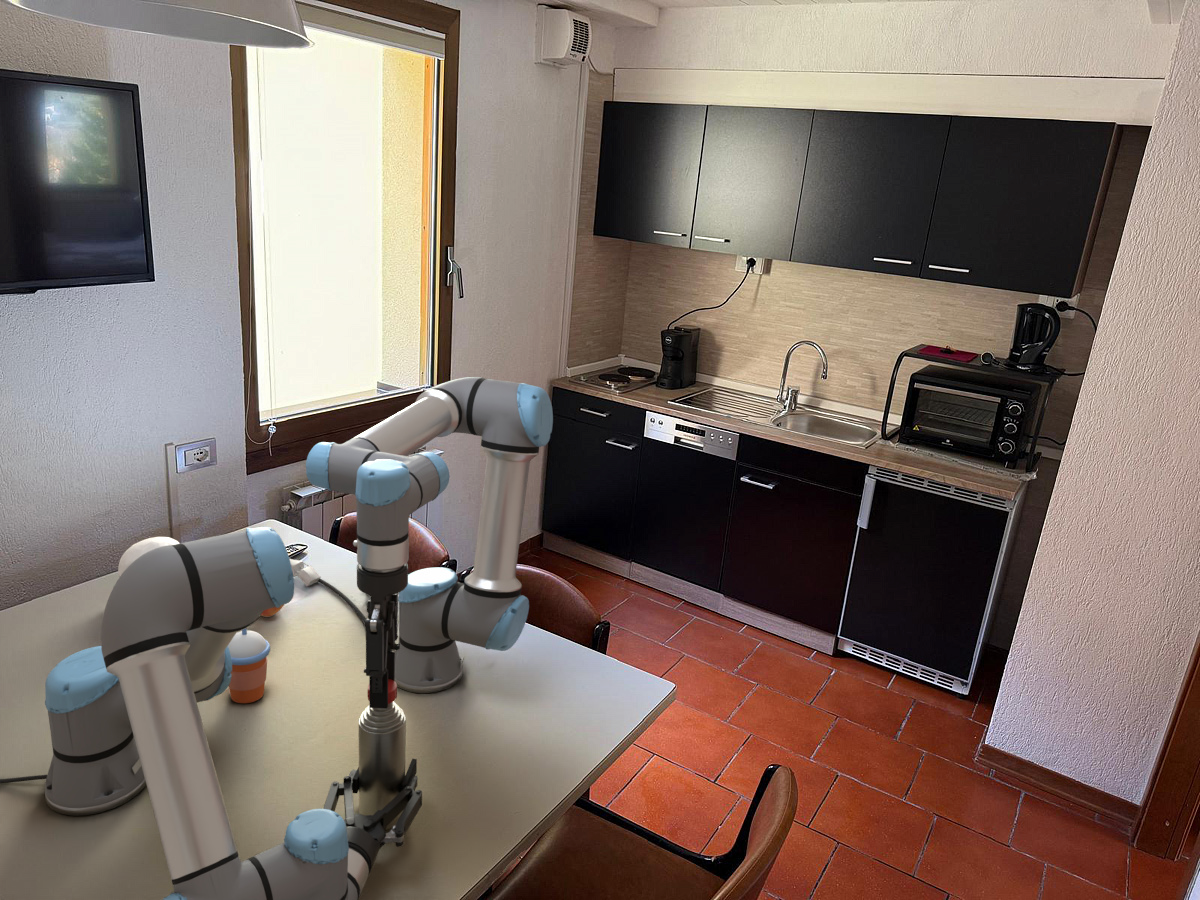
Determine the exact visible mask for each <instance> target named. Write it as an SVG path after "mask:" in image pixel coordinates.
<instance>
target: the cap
mask: <svg viewBox="0 0 1200 900" xmlns="http://www.w3.org/2000/svg"><path fill="white" fill-rule="evenodd" d="M397 697H398V686H397V684H396V682H395V681H393V680H391V679H388V704H389V703H392V702H393V701H394V702H395V701H396V700H397ZM367 700H368V701H369V684H368V685H367Z"/></svg>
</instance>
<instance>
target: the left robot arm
mask: <svg viewBox="0 0 1200 900" xmlns="http://www.w3.org/2000/svg"><path fill="white" fill-rule="evenodd" d="M179 543H180V542H179ZM290 559H291V558H290V556H289V553H288V551H287V548H286V545H285V543H284V542H283V539H282V537H281V536H280V534H279V533H278V532H277V531H276V530H275V529H274V528H273V527H270V526H260V527H246V528H245V529H244V530H239V531H235V532H230V533H225V534H219V535H215V536H214V535H213V536H209V537H204V538H200V539H195V540H191V541H185V542H181V543H180V544H176V545H168V546H162V547H159V548H156V549H153V550H151V551H149V552H147V553H145V554H143V555H142V556H140V557H139V558H137V559H136V560H135V561H134V562H133V563H132V564H130V565H129V566H128V567H127V569H126V570H125V571H124V572H123V573H122V575H121V576H120V577H119V576H118V579H117V580H116V582H115V584H114V585H113V587H112V588H111V589H112V590H111V591H110V594H109V596H108V598H107V601H106V604H105V608H104V610H103V614H102V620H101V626H100V645H97V646H92V647H88V648H85V649H82V650H79V651H77V652H75V653H73V654H70V655H69V656H66V657H65V658H63V659H61V661H59V662H58V663H57V664H56V665H55V667H53V668H52V669H51V670H50V671H49V673H48V675H47V677H46V679H45V684H44V685H45V686H44V687H45V689H44V690H45V691H44V692H45V693H44V694H45V698H44V699H45V700H44V705H45V708H46V710H47V715H48V723H49V724H48V725H49V731H50V739H51V746H52V757H51V761H50V764H49V768H48V771H47V774H39V775H28V776H21V777H19V776H18V777H10V778H0V784H9V783H11V784H12V783H20V782H26V781H27V782H29V781H38V780H39V781H41V780H45V781H44V799H45V802H46V805H47V806H48V807H49V808H50V809H51V810H53V811H54V812H56V813H58V814H61V815H65V816H66V815H67V816H89V815H95V814H99V813H104V812H107V811H110V810H113V809H115V808H117V807H119V806H121V805H123V804H125V803H127V802H130V800H132V799H133V798H135V797H136V796H137V795H139V794H140V792H142V791H143V790H144V788H147V792H148V796H149V799H150V800H149V801H150V803H151V808H152V811H153V815H154V818H155V822H156V826H157V830H158V835H159V837H160V841H161V845H162V849H163V853H164V857H165V860H166V861H165V862H166V864H167V868H168V872H169V876H170V879H171V884H172V886H173V892H171V893H170V894H169V895H167V896H165V897H164V898H162V900H359V899H360V896H361V894H362V892H363V890H364V887H365V885H366V883H367V880H368V878H369V874H370V873H371V871H372V868H373V866H374V863H375V861H376V859H377V857H378V854H379V851H380V850H381V848H383V847H384V846H385V844H387V843H394V845H395V846H396V847H397V848H399V847H403V846H404V841H405V835H406V833H407V832H408V830H409V829H410V826H411V825H412V823H413V822H414V820H415V818H416V816H417V815H418V813H419V811H420V810H421V808H422V806H423V790H421V789H417V787H418V775H417V771H418V769H417V765H418V764H417V763H418V759H417V758H411V761H410V763H409V764H408V768H407V770H406V772H405V777H404V780H403V782H402V791H401V792H400V793H399V794H398V795H397V796H396V797H395V798H394V799H392V800H391V801H390V802H389V803H388V804H387V805H386V806H385V807H384V808H383V809H382V810H378V811H377V812H376V813H375V814H374V815H362V814H359V813H355V807H354V796H353V794H359V766H358V767H357V769H352V770H351V771H349V774H348V775H346V776H344V777H343V782H341V783H340V782H339V781H332V782H331V784H330V787H329V790H328V793H327V795H326V799H325V802H324V805H323V808H313V809H308V810H305V811H303V812H301V813H299V814H298V815H296V817H295V818H294V819H293V820H292V821H290V822H289V824H288V826H286V830H285V834H284V838H283V842H281V843H279V844H277V845H275V846H273V847H271V848H269V849H266V850H265V851H262V852H260V853H257V854H255V855H253V856H251V857H249V858H247V859H245V860H243V861H241V858H240V854H239V852H238V851H239V849H238V846H237V843H236V838H235V836H234V832H233V829H232V825H231V821H230V817H229V814H228V811H227V807H226V802H225V798H224V796H223V792H222V788H221V784H220V782H219V778H218V774H217V771H216V766H215V763H214V760H213V759H214V758H213V757H212V753H211V752H212V751H211V749H210V745H209V742H208V738H207V735H206V731H205V727H204V724H203V723H204V722H203V719H202V715H201V713H200V709H199V706H198V703H202V702H206V701H209V700H212V699H213V698H214V697H217V696H219V695H221V694H223V693H224V692H225V691H226V690H227V689H229V684H230V681H231V677H232V675H231V671H232V659H231V654H230V651H229V648H228V645H229V643H230V642H231V640H232V638H233V637H234V635H235V634H236V633H237V632H240V631H242V630H243V629H245V628H247V629H248V627H250V626H252V625H253V624H254V623H255V622H256V621H257V620H258V619H259V618H260V617H261V616H260V615H261V614H262V612H263V611H264V610H267V609H270V608H274V607H276V608H279V607H280V606H281V605H284V606H285V605H287V604H289V603H290V602H292V600H293V598H294V595H295V579H294V578H295V577H293V571H292V567H291V563H290ZM341 796H343V800H344V801H343V803H344V819H343V816H342V815H340V814H339V813H338V812H337V811H336V808H337V805H338V801H339V798H340V797H341ZM402 811H403V812H402ZM401 812H402V814H401V815H400V817H399V819H398V820H397V823H396V825H394V826H393V828H390V829H389V832H386V831H387V830H386V827H387V826H388V825H389V824H390V823H391V822H392V821H393V820H394V819H395V818H396V817H397V816H398V815H399V814H400V813H401Z"/></svg>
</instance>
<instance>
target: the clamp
mask: <svg viewBox="0 0 1200 900" xmlns="http://www.w3.org/2000/svg"><path fill="white" fill-rule="evenodd" d="M289 559H290V563H291V567H292V571H293V578H296V577H298V578H299V579H300V580H301V582H303V584H304V585H305V587H309V586H312V585H314V584H316V583H319V582H318V580H319V579H321V578H322V577H321V575H320V574H319V573H318V572H317V570H315V569H314V568H313V566H312V565H310V564H309V565H308V564H307V563H305V562H304V561H303V560H301V559H300V560H299V559H292V558H289ZM305 566H306V567H305Z"/></svg>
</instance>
